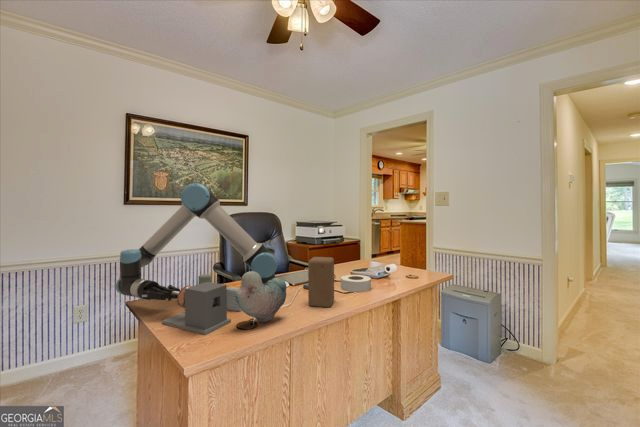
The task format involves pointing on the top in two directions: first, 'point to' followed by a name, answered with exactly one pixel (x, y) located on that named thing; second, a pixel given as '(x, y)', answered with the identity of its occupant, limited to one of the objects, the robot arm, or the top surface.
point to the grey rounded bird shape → (260, 296)
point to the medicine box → (232, 299)
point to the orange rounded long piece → (182, 297)
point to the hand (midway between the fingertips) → (185, 297)
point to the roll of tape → (355, 283)
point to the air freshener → (205, 278)
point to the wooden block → (321, 281)
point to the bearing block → (202, 309)
